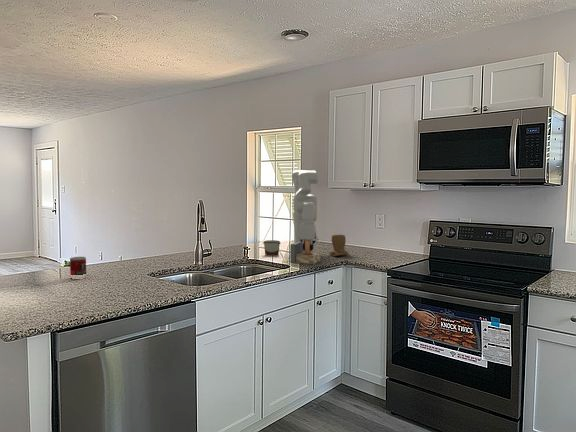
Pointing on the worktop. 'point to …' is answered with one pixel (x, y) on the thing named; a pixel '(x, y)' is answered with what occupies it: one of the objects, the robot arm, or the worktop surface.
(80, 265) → the canned food
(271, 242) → the food container
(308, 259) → the beige square ring
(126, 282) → the worktop surface
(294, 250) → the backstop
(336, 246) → the brown chunky piece
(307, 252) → the dowel
